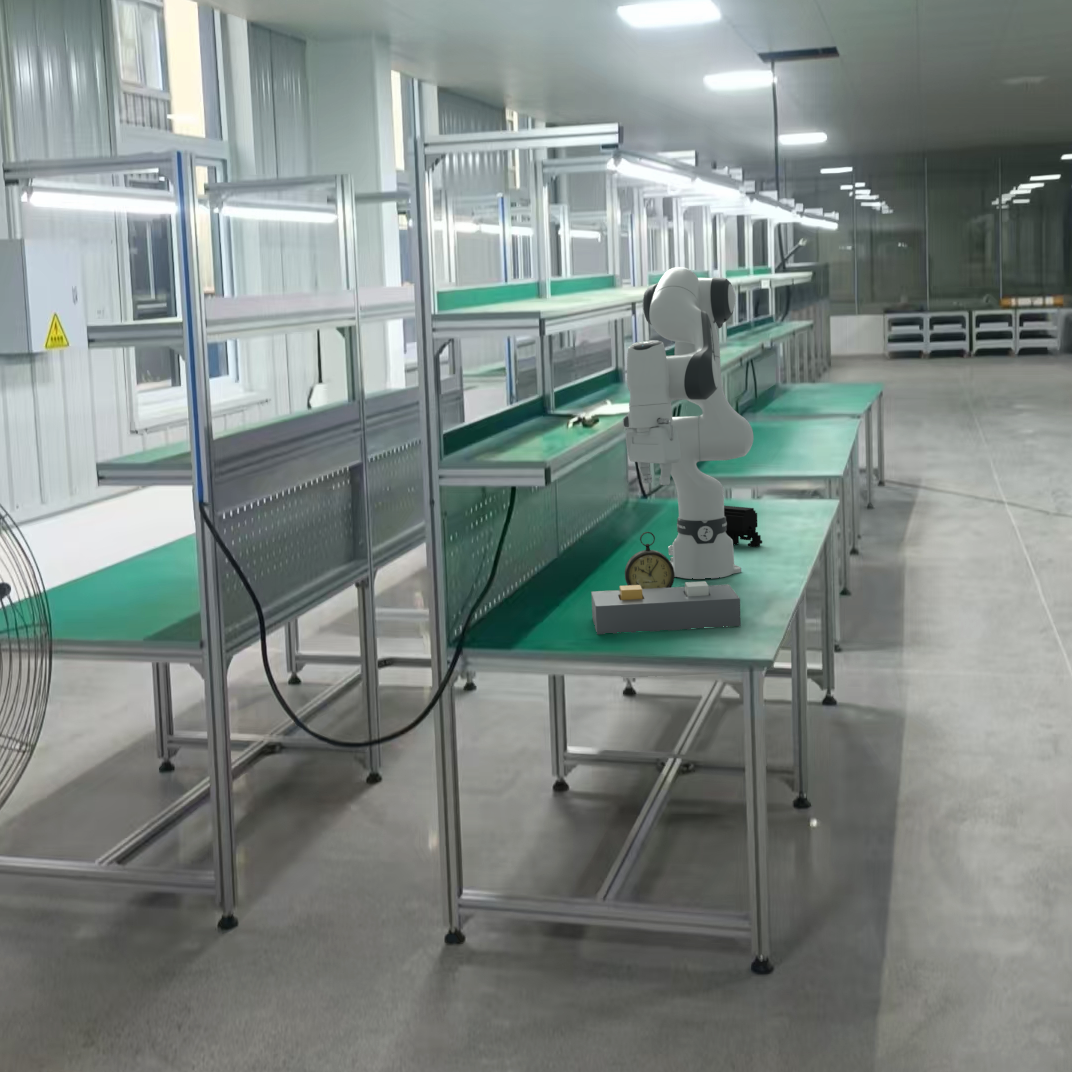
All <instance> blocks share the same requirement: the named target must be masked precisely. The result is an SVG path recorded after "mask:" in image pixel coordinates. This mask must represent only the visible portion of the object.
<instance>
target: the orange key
mask: <svg viewBox="0 0 1072 1072" xmlns="http://www.w3.org/2000/svg"><path fill="white" fill-rule="evenodd" d="M619 590H620V600H632V599H643V597H642V588H641V586H640V585H619Z"/></svg>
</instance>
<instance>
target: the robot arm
mask: <svg viewBox="0 0 1072 1072" xmlns="http://www.w3.org/2000/svg"><path fill="white" fill-rule="evenodd" d="M641 305H642V306H641V307H642V311H643V315H644V318H645V320H646V322H647V323H648V324H650V325H651V327H652V328H653V330H654V331H655V332H656V333H657V334H658V335H659V336H660V337H662V338H663V339H666V340H668V341H672V342H674V355H667V353H666V348H665V344H664V342H663V341H660V340H656V339H649V340H643V341H637V342H634V343H631V345H629V346H628V347H627V348H628V349H627V353H626V354H627V355H626V357H627V358H626V381H627V383H626V384H627V387H628V391H629V402H628V413H627V414H626V415H625V416H624V417H623V419H622V427H623V429H625V443H626V450H627V456H628V458H629V461H630V462H632V463H633V462H634V463H637V466H638V470H639V473H640V475H641V483H643V484H651V483H652V482H653V475H652V474H651V471H650V464H659V469H660V476H659V478H658V480H659V485H660V486H669V485H670V484H671V477H672V480H673V482H674V484H675V489H676V493H677V494H676V495H677V503H678V506H677V508H678V517H677V520H676V521H677V522H676V530H677V533H678V534H677V536H676V538H675V539H673V540H674V541H673V542H672V544H670V545H669V546H668V555H669V556H671V557H670V558H669V559H670V560H669V561H670V562H671V564H672V566H673V568H674V578H676V577H677V578H681V579H690V580H706V579H705V578H711V579H718V578H719V577H720V578H724V577H729V576H731V575H732V574H737V573H738V574H739V573H742V567H741V566H739V565H737V564H735V552H734V545H733V540H732V539H731V538H730V537H729V536H728V535H727V534H726V532H725V531H726V530H727V529H726V525H727V521H726V517H725V516H724V506H725V496H724V495H725V494H724V492H725V491H724V487H723V486H724V485H723V484H722V483H721V481H719V480H718V479H716V478H715V477H714V476H711V475H709V474H706V473H704V472H703V471H701V470H700V469H699V467H698V466H697V463H698V462H709V461H713V462H714V461H729V460H733V459H738V458H742V457H746V455H747V454H748V453H749V452H750V451H751V449H752V446H753V443H754V432H753V427H752V426H751V423H749V421H748V420H747V419H746V418H745V417H744V416H742V415H741V414H740V413H738V411H736V410H735V409H734V408H733V406H732V405H731V404H730V403H729V401H728V399H727V397H726V395H725V392H724V389H723V381H722V370H721V369H722V367H721V350H720V348H721V347H720V341H719V340H720V339H719V335H718V330H717V328H718V329H721V328H722V327H723V324H724V323H726V322H728V321H729V319H730V318H731V317H732V315H733V314H734V309H735V306H736V293H735V290H734V288H733V285H732V283H731V281H730V280H729V279H728V278H725V277H720V276H713V277H712V278H711V277H698V276H697V274H695V272H694V271H692V270H691V269H689V268H687V267H684V266H683V267H682V266H676V267H675V266H674V267H672V268H670V269H668V270H667V271H665V272H664V273H663V274H662V276H661V278H659V281H658V282H657V283H653V284H651V285H649V286H648V287H647V288H646V289H645V291H644V294H643V299H642V304H641ZM679 400H686V401H688V402H690V403H692V404H695V405H697V406H699V407H700V409H701V411H702V413H701V414H700V415H692V416H691V415H690V416H689V415H688V416H687V415H686V416H673V411H672V401H679ZM692 578H693V579H692Z"/></svg>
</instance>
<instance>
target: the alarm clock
mask: <svg viewBox="0 0 1072 1072" xmlns="http://www.w3.org/2000/svg"><path fill="white" fill-rule="evenodd" d="M645 534H650V535H651V536H652V537H653V540H652V542H651V543H646V544H645V543H644V542H642V538H643V536H644V535H645ZM655 540H656V537H655V535H654V534H653V532H651V531H645V532H643V533H642V534H641V535H640V537H639V541H640V543H641V544H642V545H643V546H645V549H644V550H641V551H638V552H636V553H635V554H633V555H632V556H631V557H630V558H629V560H628V561H627V563H626V565H625V569H624V580H625V582H626V586H628V585H640V586H641V588H642V589H651V588H670V587H673V585H674V582H675V577H674V568H673V566H672V564H671V562H670V560H669V558H668V557H667V556H666V555H664V554H663V553H661V552H660V551H659V550H656V549H655V550H654V549H651V548H650V546H653V544H654V543H655V542H656V541H655Z"/></svg>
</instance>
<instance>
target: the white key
mask: <svg viewBox="0 0 1072 1072" xmlns="http://www.w3.org/2000/svg"><path fill="white" fill-rule="evenodd" d="M708 585H709V584H708V583H707V582H706V580H705V581H688V582H687V581H686V582H684V587H685V595H686V597H688V596H707V595H709V586H708Z"/></svg>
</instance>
